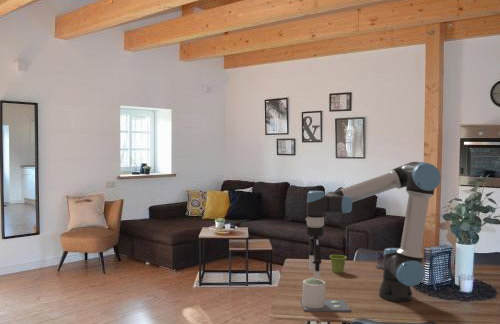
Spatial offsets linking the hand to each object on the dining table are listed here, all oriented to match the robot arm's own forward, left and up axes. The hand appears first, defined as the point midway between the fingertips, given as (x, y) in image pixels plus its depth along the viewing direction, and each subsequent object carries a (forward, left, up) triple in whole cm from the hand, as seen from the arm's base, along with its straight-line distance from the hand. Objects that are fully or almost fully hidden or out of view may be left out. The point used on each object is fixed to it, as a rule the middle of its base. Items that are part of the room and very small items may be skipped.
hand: (314, 273), depth 206 cm
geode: (-55, -69, -15) cm, 90 cm away
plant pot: (-22, -56, -15) cm, 62 cm away
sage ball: (+1, 0, -5) cm, 5 cm away
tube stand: (-5, 0, -14) cm, 15 cm away
